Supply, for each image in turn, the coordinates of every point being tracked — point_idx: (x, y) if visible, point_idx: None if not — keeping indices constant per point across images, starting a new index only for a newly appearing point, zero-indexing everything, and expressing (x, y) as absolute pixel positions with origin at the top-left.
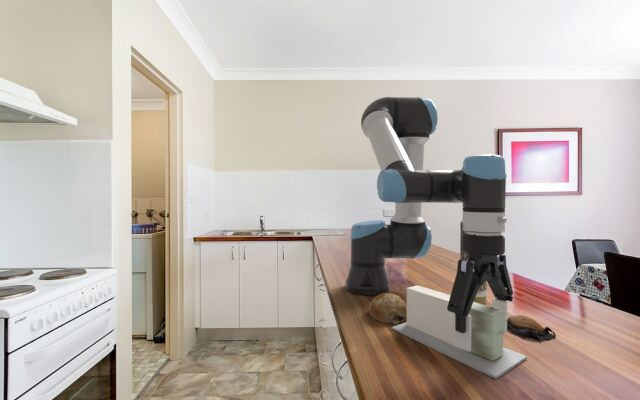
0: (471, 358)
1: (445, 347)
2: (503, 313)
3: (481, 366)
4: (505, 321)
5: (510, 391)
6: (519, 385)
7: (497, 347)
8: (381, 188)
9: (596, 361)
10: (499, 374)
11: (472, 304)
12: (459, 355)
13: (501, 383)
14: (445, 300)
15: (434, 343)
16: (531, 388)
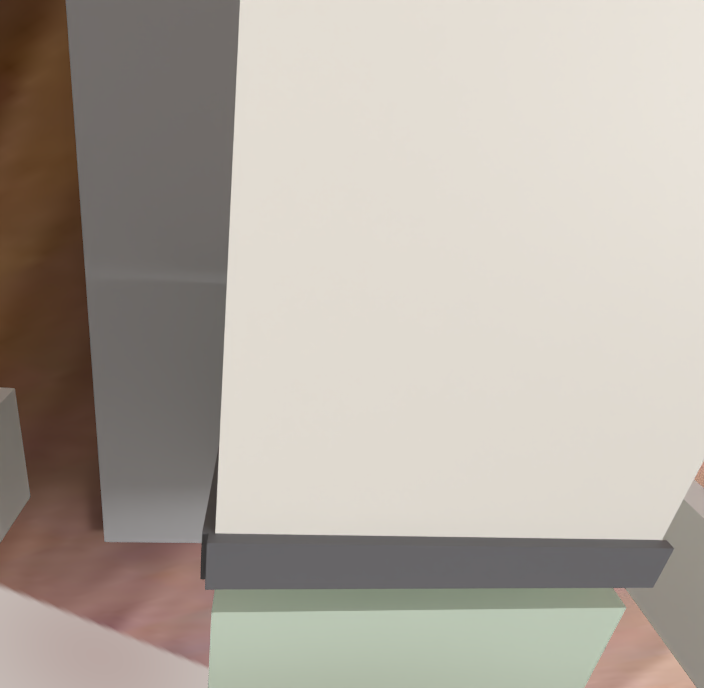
0: (178, 384)
1: (165, 171)
2: (687, 653)
3: (133, 462)
4: (632, 592)
5: (68, 595)
6: (163, 596)
7: None
8: None
9: (643, 668)
10: (145, 541)
11: (448, 662)
12: (141, 314)
13: (98, 553)
14: (237, 113)
15: (143, 47)
16: (186, 625)
